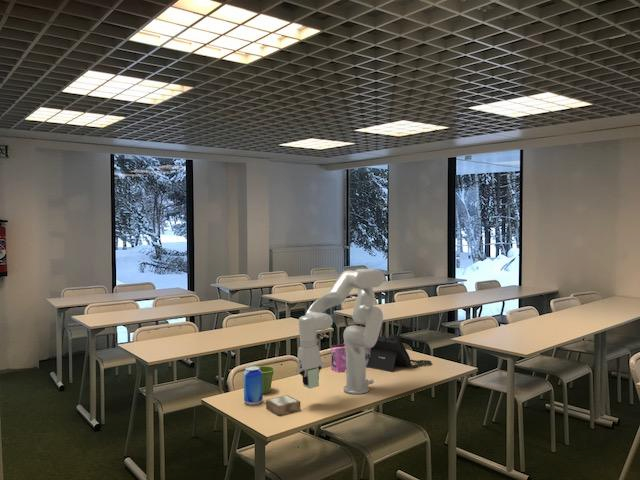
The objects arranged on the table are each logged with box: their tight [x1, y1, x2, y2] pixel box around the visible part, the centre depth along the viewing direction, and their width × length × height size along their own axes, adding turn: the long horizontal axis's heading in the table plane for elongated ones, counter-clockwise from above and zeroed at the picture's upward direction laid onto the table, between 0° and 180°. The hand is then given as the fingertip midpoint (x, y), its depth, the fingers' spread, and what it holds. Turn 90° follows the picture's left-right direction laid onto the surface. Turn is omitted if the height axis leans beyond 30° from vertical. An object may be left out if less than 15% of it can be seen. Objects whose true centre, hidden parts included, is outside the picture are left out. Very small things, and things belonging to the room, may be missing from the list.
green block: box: [303, 368, 320, 389], centre depth 231 cm, size 5×5×8 cm
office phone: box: [367, 333, 432, 373], centre depth 294 cm, size 29×28×20 cm
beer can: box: [243, 365, 264, 406], centre depth 237 cm, size 8×8×16 cm
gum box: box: [330, 343, 371, 373], centre depth 291 cm, size 24×8×14 cm, turn 121°
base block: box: [265, 394, 301, 417], centre depth 226 cm, size 11×11×4 cm
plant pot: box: [258, 365, 276, 395], centre depth 252 cm, size 12×12×11 cm
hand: (311, 382), depth 231 cm, fingers closed on green block, 5 cm apart
